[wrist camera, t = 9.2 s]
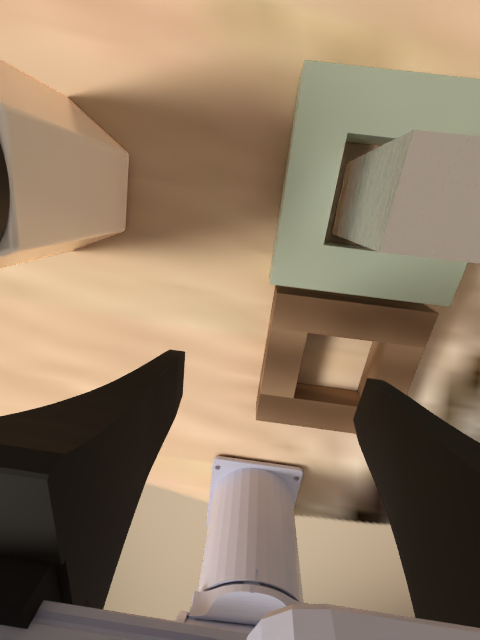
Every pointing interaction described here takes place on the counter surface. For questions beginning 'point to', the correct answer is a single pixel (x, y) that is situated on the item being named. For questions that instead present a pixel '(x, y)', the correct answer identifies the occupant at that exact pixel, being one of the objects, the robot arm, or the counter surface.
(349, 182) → the peg
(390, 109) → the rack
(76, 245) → the jar
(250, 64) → the counter surface
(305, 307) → the socket block
